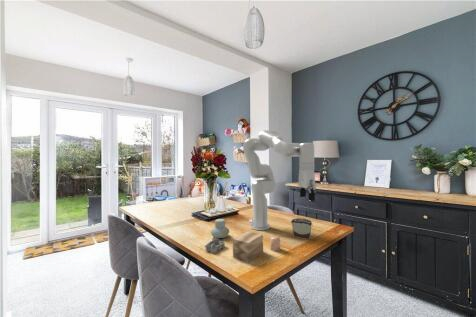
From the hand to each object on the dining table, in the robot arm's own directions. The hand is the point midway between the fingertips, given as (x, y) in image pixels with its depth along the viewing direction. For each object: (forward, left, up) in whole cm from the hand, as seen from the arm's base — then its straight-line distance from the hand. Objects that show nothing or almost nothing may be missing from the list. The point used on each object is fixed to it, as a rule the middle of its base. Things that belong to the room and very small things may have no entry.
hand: (307, 198), depth 119 cm
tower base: (-20, -27, -25) cm, 42 cm away
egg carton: (-38, -31, -26) cm, 55 cm away
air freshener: (-47, -17, -25) cm, 56 cm away
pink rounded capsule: (-12, -14, -25) cm, 31 cm away
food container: (-7, +11, -25) cm, 29 cm away
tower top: (-20, -27, -21) cm, 39 cm away
